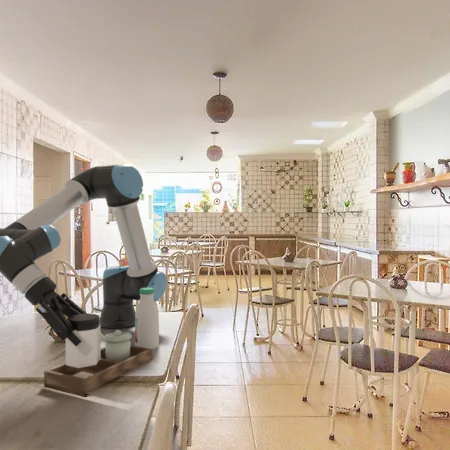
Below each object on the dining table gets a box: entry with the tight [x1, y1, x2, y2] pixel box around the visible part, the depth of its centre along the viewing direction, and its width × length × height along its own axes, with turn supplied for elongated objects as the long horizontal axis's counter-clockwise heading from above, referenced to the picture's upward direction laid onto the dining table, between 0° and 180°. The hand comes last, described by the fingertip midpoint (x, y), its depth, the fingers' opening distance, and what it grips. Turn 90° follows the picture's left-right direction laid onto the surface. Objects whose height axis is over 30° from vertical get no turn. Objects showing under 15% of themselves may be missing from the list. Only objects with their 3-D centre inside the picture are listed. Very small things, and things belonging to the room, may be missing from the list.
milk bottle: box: [134, 288, 160, 350], centre depth 138 cm, size 8×8×20 cm
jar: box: [65, 313, 102, 368], centre depth 111 cm, size 9×8×12 cm
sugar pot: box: [103, 329, 132, 362], centre depth 123 cm, size 8×8×10 cm
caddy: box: [43, 344, 153, 398], centre depth 117 cm, size 27×14×4 cm, turn 154°
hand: (95, 346), depth 111 cm, fingers closed on jar, 9 cm apart
